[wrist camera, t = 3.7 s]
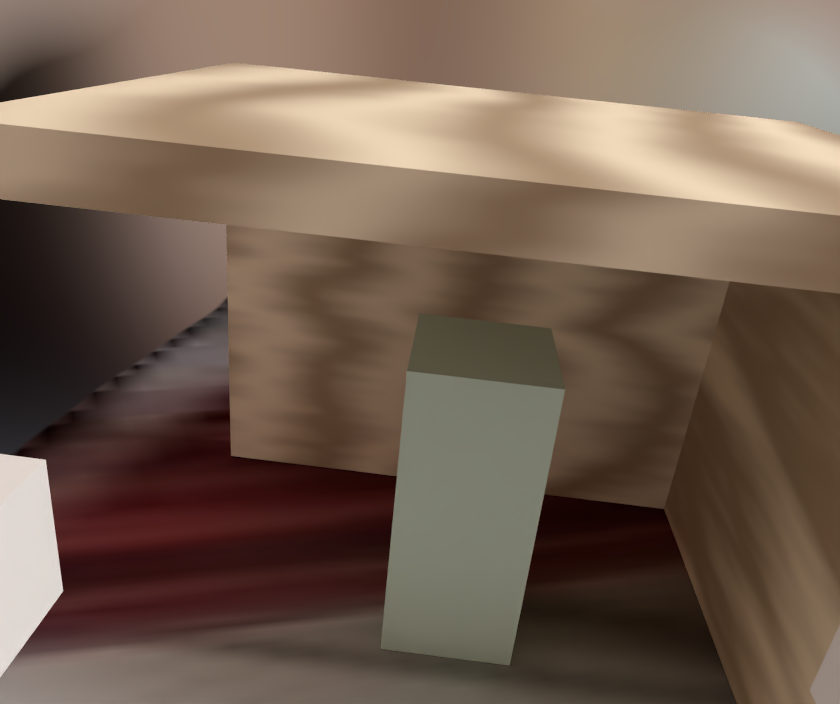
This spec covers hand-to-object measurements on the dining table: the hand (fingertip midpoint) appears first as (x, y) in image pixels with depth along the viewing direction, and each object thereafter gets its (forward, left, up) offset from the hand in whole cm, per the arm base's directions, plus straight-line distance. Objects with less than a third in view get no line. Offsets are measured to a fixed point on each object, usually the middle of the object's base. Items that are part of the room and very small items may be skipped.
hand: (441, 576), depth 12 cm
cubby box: (-1, -14, -14) cm, 19 cm away
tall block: (-1, -14, -14) cm, 20 cm away
